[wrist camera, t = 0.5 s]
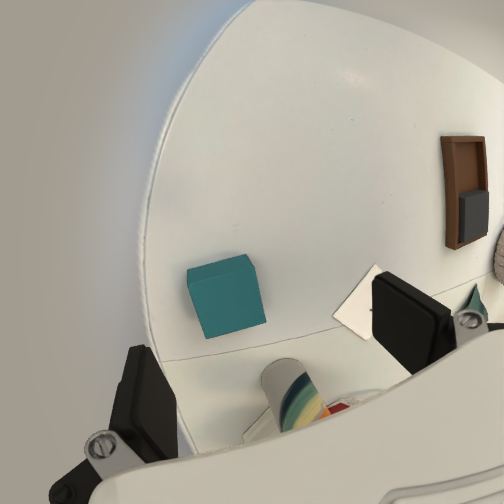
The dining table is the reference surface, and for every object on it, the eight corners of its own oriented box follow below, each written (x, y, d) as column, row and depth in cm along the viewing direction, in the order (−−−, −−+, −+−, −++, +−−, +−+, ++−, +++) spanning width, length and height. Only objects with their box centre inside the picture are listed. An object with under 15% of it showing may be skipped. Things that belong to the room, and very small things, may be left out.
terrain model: (452, 315, 39) (459, 319, 37) (475, 282, 39) (482, 285, 37) (462, 346, 44) (468, 350, 42) (483, 317, 44) (489, 320, 42)
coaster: (404, 295, 35) (407, 297, 34) (366, 340, 35) (369, 343, 35) (374, 263, 32) (378, 265, 31) (332, 315, 33) (335, 319, 32)
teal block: (187, 269, 27) (187, 284, 24) (246, 253, 28) (254, 266, 25) (203, 320, 29) (205, 339, 26) (258, 305, 30) (266, 322, 27)
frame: (440, 136, 29) (450, 136, 27) (474, 135, 30) (484, 136, 28) (445, 246, 34) (454, 250, 32) (478, 232, 36) (486, 235, 34)
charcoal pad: (452, 195, 31) (465, 198, 29) (477, 188, 32) (489, 191, 30) (452, 238, 34) (464, 243, 31) (477, 228, 35) (487, 232, 32)
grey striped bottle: (307, 378, 35) (376, 497, 17) (268, 395, 35) (321, 523, 16) (296, 350, 33) (375, 483, 15) (253, 369, 33) (308, 514, 14)
